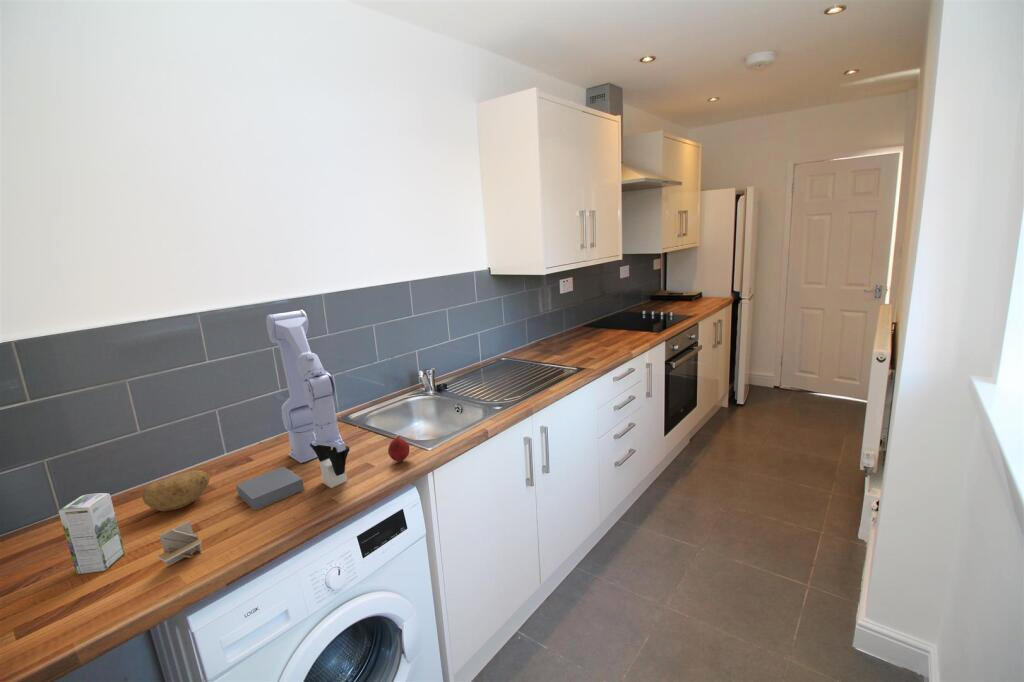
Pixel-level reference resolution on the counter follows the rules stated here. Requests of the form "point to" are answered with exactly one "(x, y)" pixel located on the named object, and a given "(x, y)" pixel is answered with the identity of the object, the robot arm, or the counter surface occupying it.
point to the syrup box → (92, 533)
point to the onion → (398, 449)
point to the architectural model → (179, 543)
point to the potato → (176, 491)
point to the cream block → (331, 474)
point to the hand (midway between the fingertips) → (333, 470)
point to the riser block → (269, 487)
